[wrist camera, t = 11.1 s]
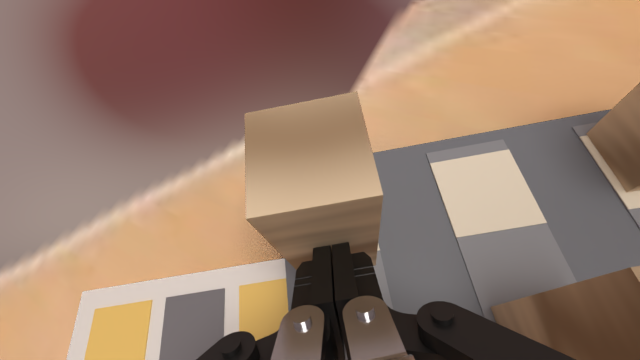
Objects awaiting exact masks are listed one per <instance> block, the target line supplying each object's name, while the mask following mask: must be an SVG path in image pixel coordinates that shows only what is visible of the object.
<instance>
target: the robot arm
mask: <svg viewBox="0 0 640 360" xmlns="http://www.w3.org/2000/svg"><path fill="white" fill-rule="evenodd" d="M344 344H345V347H344ZM345 349H346V354H347V358H348V360H576V359H574V358H572V357H570V356H567V355H565V354H563V353H561V352H559V351H556V350H554V349H552V348H550V347H548V346H545V345H543V344H541V343H539V342H537V341H535V340H532V339H530V338H528V337H526V336H524V335H521V334H519V333H517V332H515V331H513V330H510V329H508V328H506V327H504V326H502V325H499V324H497V323H495V322H493V321H491V320H489V319H486V318H484V317H482V316H480V315H478V314H475V313H473V312H471V311H469V310H467V309H464V308H462V307H460V306H458V305H456V304H453V303H450V302H445V301H434V302H429V303H427V304H425V305H423V306H422V307H421V308H420V309H419V310H418V312H417V314H406V313H401V312H398V311H395V310H393V309H391V308H390V307H388V306H387V305H386V303H385V302H384V300H383V297H382V294H381V290H380V287H379V284H378V280H377V277H376V274H375V270H374V267H373V263H372V260H371V257H370V256H368V255H367V254H366V253H365V252H358V253H352V254H351V251H350V246H349V242H345V243H339V244H333V245H332V249H331V246H330V245H328V246H322V247H316V248H313V257H312V260H311V261H305V262H302V263H301V264H300V266H299V267H298V269H297V270H296V276H295V283H294V290H293V297H292V304H291V311H289V312H288V313H287V314H286V315H285V316H284V317H283V319H282V321H281V323H280V327H279V330H278V331H276V332H275V333H273V334H271V335H269V336H266V337H264V338H261V339H259V340H257V341H255V338H254V336H253V335H252V334H251V333H249V332H246V331H238V332H233V333H231V334H228V335H226V336H225V337H223V338H221V339H220V340H219V341H218V342H216V343H215V344H214V345H213V346H212V347H210V348H209V349H208V350H207V351H206V352H204V353H203V354H202V355H201V356H200V357H199V358H197V359H196V360H346V359H345Z"/></svg>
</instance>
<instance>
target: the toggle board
mask: <svg viewBox="0 0 640 360" xmlns="http://www.w3.org/2000/svg"><path fill="white" fill-rule="evenodd" d="M610 110H612V109H610ZM610 110H605V111H599V112H594V113H588V114H583V115H578V116H572V117H567V118H561V119H556V120H550V121H545V122H539V123H534V124H528V125H523V126H517V127H512V128H507V129H501V130H496V131H490V132H485V133H479V134H474V135H468V136H463V137H457V138H452V139H446V140H441V141H436V142H430V143H425V144H419V145H414V146H408V147H403V148H397V149H392V150H386V151H381V152H375V153H373V156H374V160H375V164H376V168H377V172H378V176H379V180H380V184H381V188H382V192H383V202H382V212H381V221H380V230H379V240H378V249H377V258H376V265H374V266H373V267H374V270H375V274H376V277H377V280H378V284H379V287H380V290H381V294H382V297H383V300H384V302H385V303H386V305H387V306H388V307H390V308H391V309H393V310H395V311H398V312H401V313H406V314H417V312H418V310H419V309H420V308H421V307H422V306H423V305H425V304H427V303H429V302H434V301H445V302H450V303H453V304H456V305H458V306H460V307H462V308H464V309H467V310H469V311H471V312H473V313H475V314H478V315H480V316H482V317H484V318H486V319H489V320H491V321H493V322H495V323H496V320H495V318H494V315H493V312H492V310H491V307H492V306H496V305H499V304H503V303H506V302H510V301H513V300H517V299H520V298H524V297H527V296H531V295H534V294H538V293H542V292H545V291H549V290H552V289H556V288H559V287H563V286H566V285H570V284H573V283H577V282H580V281H584V280H587V279H591V278H594V277H598V276H601V275H605V274H608V273H612V272H616V271H619V270H623V269H626V268H630V267H635V266H640V190H638V191H632V192H626V190H625V189H624V187H623V186H622V185H621V183H620V182H619V180H618V179H617V177H616V176H615V174H614V173H613V171H612V170H611V169H610V167H609V166H608V164H607V163H606V161H605V160H604V158H603V157H602V156H601V154H600V153H599V151H598V150H597V148H596V147H595V145H594V144H593V142H592V141H591V140H590V138H589V137H588V135H587V134H586V133H587V132H588V131H589V130H591V129H592V128H593V127H594V126H595V125H596V124H597V123H598V122H599V121H600V120H601V119H602V118H603V117H604V116H605V115H606V114H607V113H608V112H609V111H610ZM285 269H286V283H287V297H288V311H291V304H292V297H293V290H294V283H295V276H296V269H295V268H294V267H293V266H292V265H291V264H290V263H289V262H288V261H287V260H286V259H285ZM344 347H345V344H344ZM345 359H346V360H348V358H347V354H346V349H345Z"/></svg>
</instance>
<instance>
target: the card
mask: <svg viewBox="0 0 640 360" xmlns="http://www.w3.org/2000/svg"><path fill="white" fill-rule="evenodd" d="M288 312H289V311H288V297H287V283H286V269H285V258H282V259H276V260H270V261H264V262H258V263H252V264H246V265H240V266H234V267H228V268H222V269H216V270H210V271H204V272H198V273H192V274H186V275H180V276H173V277H167V278H161V279H155V280H149V281H143V282H137V283H131V284H125V285H119V286H113V287H107V288H101V289H95V290H89V291H83V292H82V296H81V300H80V305H79V309H78V313H77V317H76V322H75V326H74V330H73V334H72V338H71V343H70V347H69V351H68V355H67V359H66V360H196V359H197V358H199V357H200V356H201V355H202V354H203V353H204V352H206V351H207V350H208V349H209V348H210V347H212V346H213V345H214V344H215V343H216V342H218V341H219V340H220V339H221V338H223V337H225V336H226V335H228V334H231V333H233V332H238V331H246V332H249V333H251V334H252V335H253V336H254V338H255V341H257V340H259V339H261V338H264V337H266V336H269V335H271V334H273V333H275V332H276V331H278V330H279V327H280V323H281V321H282V319H283V317H284V316H285V315H286V314H287V313H288Z"/></svg>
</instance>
